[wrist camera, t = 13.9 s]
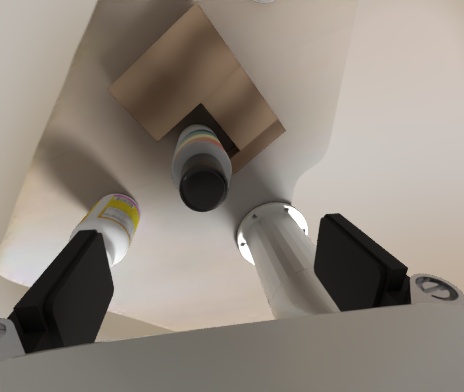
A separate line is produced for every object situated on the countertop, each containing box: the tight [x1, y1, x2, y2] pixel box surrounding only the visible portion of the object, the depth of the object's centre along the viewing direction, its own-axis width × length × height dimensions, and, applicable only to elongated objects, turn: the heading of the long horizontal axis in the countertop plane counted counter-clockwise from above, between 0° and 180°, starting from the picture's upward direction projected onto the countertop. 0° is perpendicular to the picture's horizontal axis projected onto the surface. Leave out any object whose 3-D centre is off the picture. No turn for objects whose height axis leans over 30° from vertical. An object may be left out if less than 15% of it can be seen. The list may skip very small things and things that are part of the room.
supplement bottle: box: [69, 194, 140, 269], centre depth 33 cm, size 7×7×13 cm
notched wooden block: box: [107, 2, 286, 176], centre depth 34 cm, size 18×14×4 cm
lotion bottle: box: [171, 124, 232, 212], centre depth 28 cm, size 6×6×20 cm
